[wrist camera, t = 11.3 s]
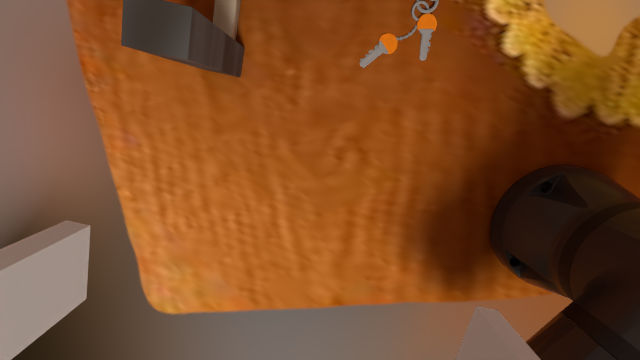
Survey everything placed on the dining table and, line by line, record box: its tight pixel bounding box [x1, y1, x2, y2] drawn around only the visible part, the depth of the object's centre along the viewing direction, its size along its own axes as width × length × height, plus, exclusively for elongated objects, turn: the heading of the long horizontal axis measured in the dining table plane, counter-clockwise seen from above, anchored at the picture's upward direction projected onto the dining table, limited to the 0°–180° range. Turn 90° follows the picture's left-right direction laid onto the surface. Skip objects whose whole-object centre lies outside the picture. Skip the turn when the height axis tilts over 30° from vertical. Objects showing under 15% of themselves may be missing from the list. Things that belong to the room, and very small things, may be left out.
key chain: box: [360, 0, 439, 68], centre depth 31 cm, size 13×7×1 cm, turn 162°
